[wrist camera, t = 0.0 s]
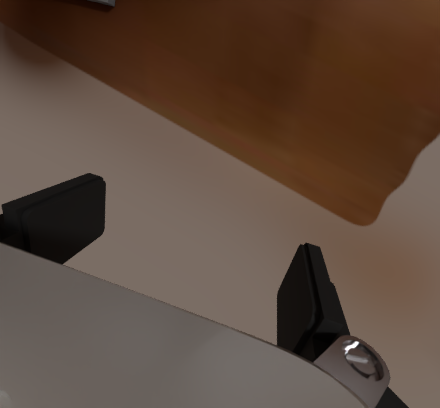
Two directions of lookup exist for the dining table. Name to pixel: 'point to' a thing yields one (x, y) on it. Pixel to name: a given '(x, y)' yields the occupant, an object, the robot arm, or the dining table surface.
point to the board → (105, 2)
